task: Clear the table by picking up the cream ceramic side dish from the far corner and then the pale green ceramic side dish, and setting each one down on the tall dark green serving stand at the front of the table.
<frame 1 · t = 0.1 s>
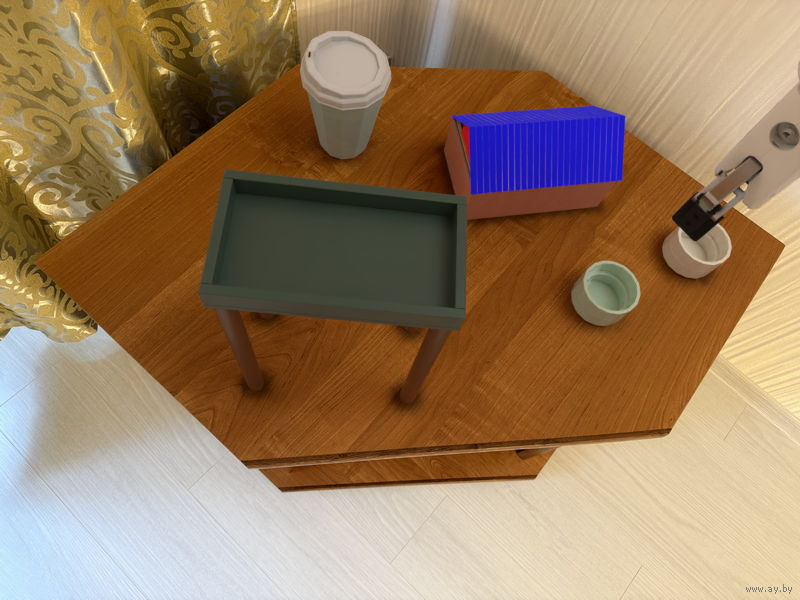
hand: (717, 204, 57), 21 cm above the table, tool pointing down, fingers open, 9 cm apart
dish a: (685, 256, 80), on the table
disposable coffee cup: (343, 143, 81), on the table
dish b: (596, 301, 75), on the table
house: (519, 179, 82), on the table
tray: (340, 257, 47), on the table
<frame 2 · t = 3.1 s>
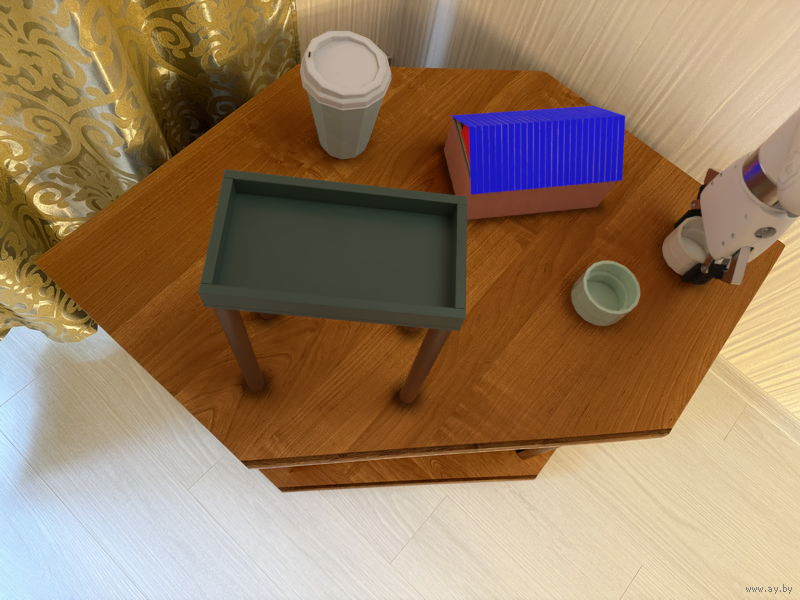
hand: (688, 253, 79), 1 cm above the table, tool pointing down, fingers closed on dish a, 7 cm apart
dish a: (685, 256, 80), on the table, touching gripper
everything else where it was.
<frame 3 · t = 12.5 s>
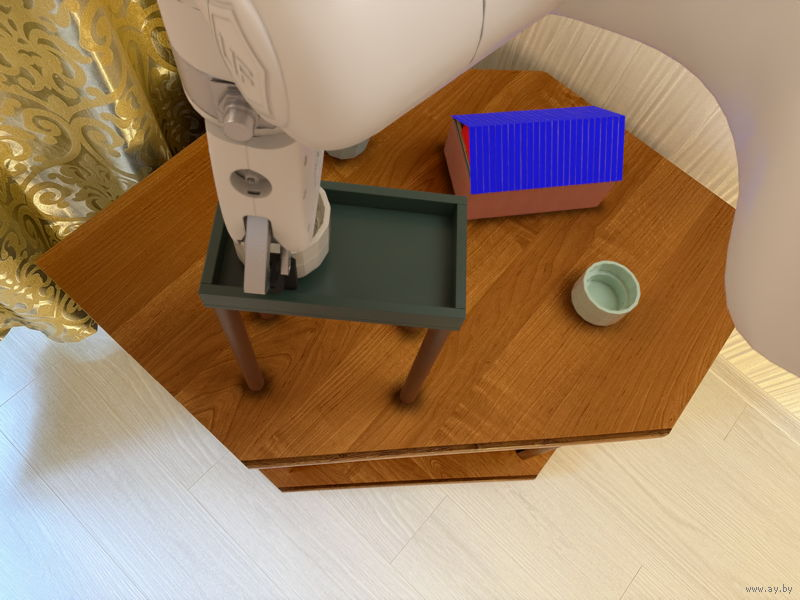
hand: (282, 236, 44), 26 cm above the table, tool pointing down, fingers closed on dish a, 7 cm apart
dish a: (283, 242, 45), point 26 cm above the table, touching gripper
everything else where it was.
when the fingers open (27 cm above the table, at t = 19.0 s): dish a drops 2 cm, resting on tray.
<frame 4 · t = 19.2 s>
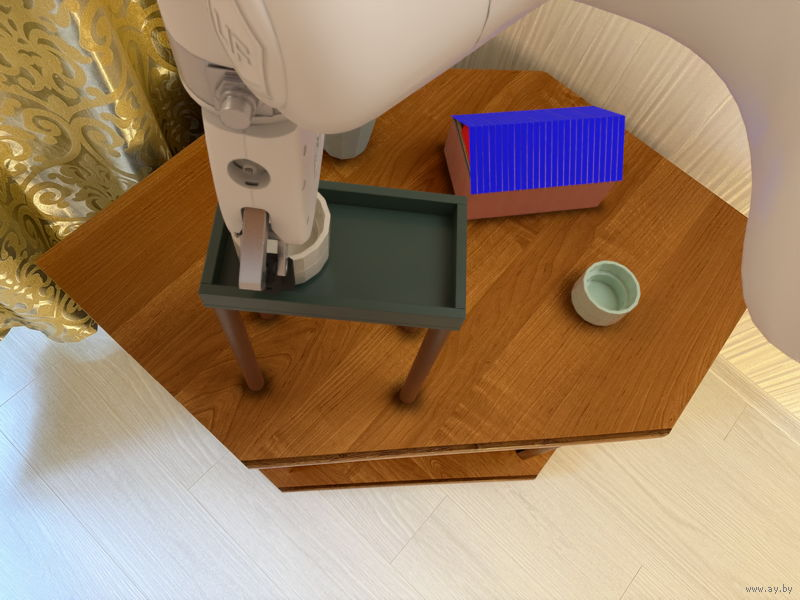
hand: (281, 228, 43), 28 cm above the table, tool pointing down, fingers open, 8 cm apart
dish a: (284, 248, 46), point 25 cm above the table, touching tray
everything else where it was.
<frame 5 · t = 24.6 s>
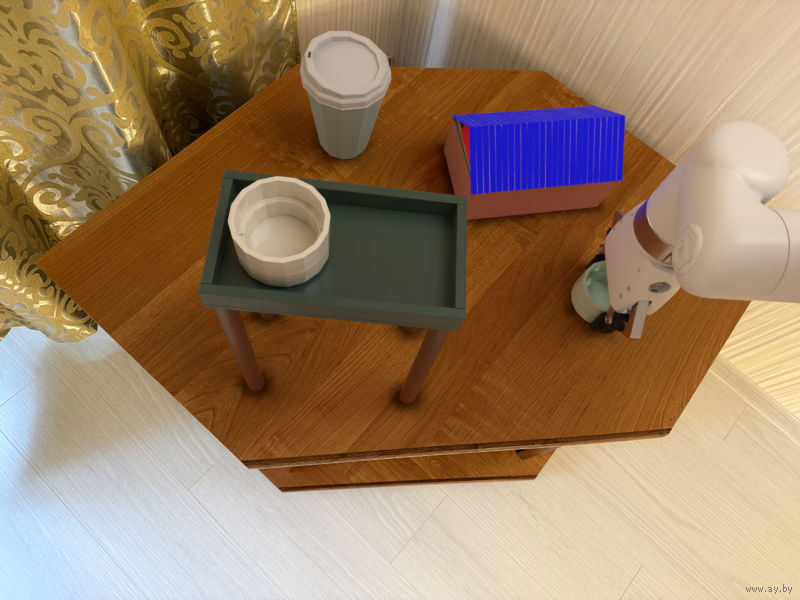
hand: (599, 298, 75), 1 cm above the table, tool pointing down, fingers closed on dish b, 7 cm apart
dish b: (596, 301, 75), on the table, touching gripper
everything else where it was.
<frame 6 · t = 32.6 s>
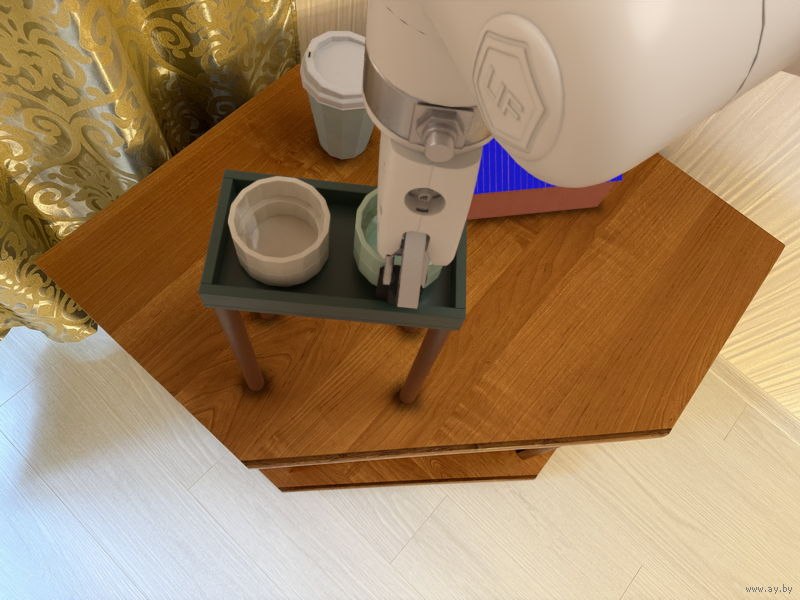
hand: (400, 248, 45), 27 cm above the table, tool pointing down, fingers closed on dish b, 7 cm apart
dish b: (399, 254, 46), point 26 cm above the table, touching gripper
everything else where it was.
when the fingers open (27 cm above the table, at t = 39.0 s): dish b drops 2 cm, resting on tray.
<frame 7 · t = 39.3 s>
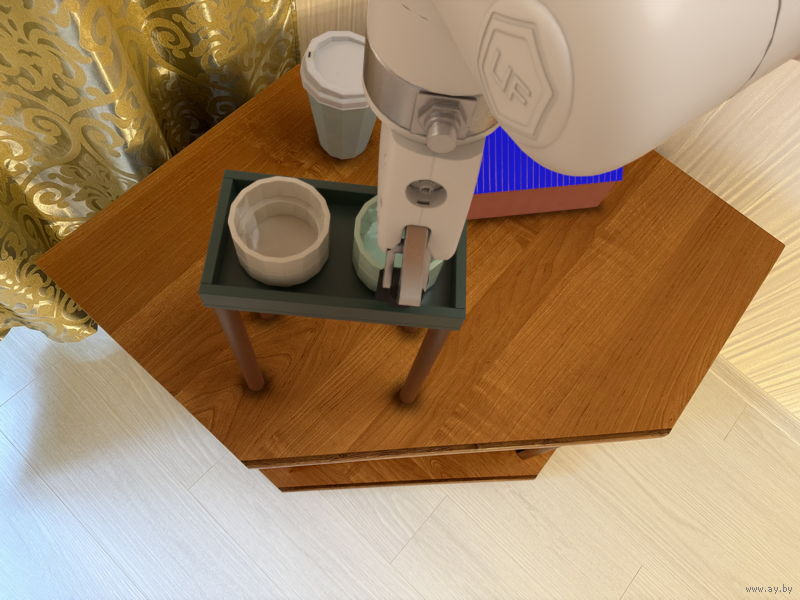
hand: (401, 240, 44), 28 cm above the table, tool pointing down, fingers open, 9 cm apart
dish b: (396, 260, 47), point 25 cm above the table, touching tray
everything else where it was.
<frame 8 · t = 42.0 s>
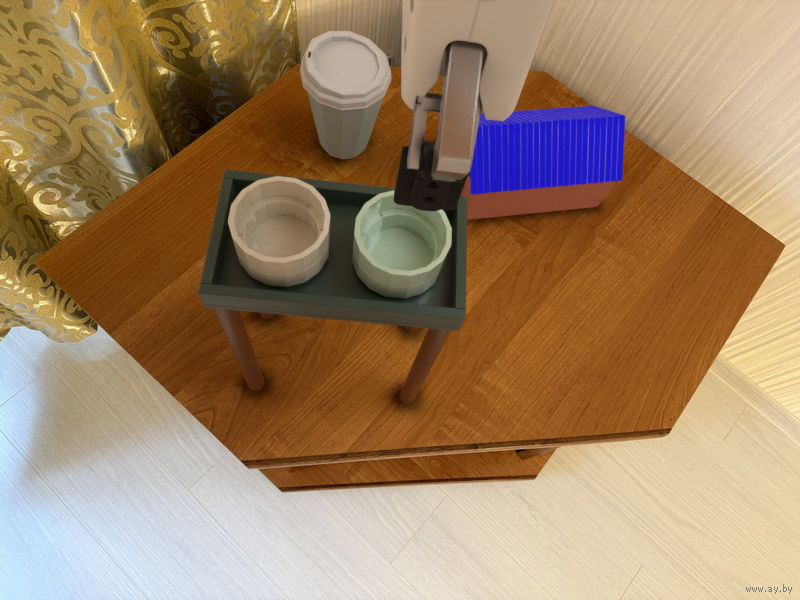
hand: (427, 127, 32), 40 cm above the table, tool pointing down, fingers open, 9 cm apart
nothing on the table moved.
at the end: dish a inside the target area on the tray (4.4 cm from its centre), point 0.6 cm above the tray's base; dish b inside the target area on the tray (4.4 cm from its centre), point 0.6 cm above the tray's base; dish a tilted 0° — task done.
